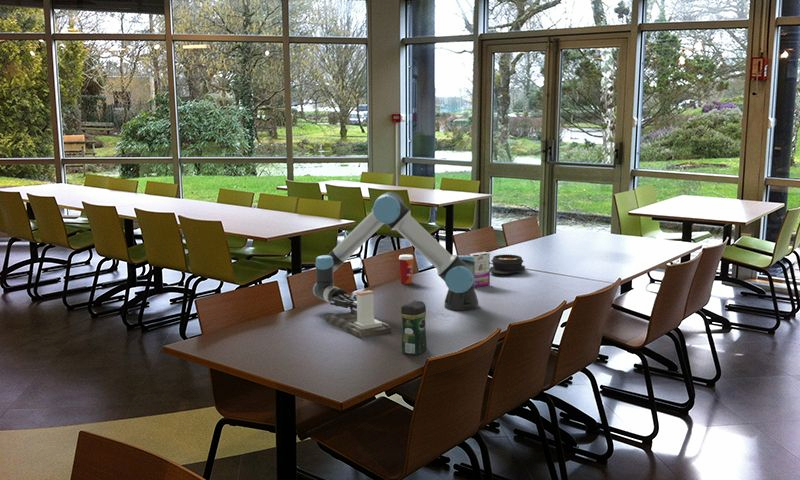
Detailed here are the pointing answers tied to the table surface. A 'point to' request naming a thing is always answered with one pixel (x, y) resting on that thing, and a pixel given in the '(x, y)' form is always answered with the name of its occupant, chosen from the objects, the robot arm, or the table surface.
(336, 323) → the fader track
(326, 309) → the table surface
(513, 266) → the casserole
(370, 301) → the post
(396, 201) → the robot arm
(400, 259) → the paper cup
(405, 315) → the coffee jar
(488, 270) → the candy bar box
